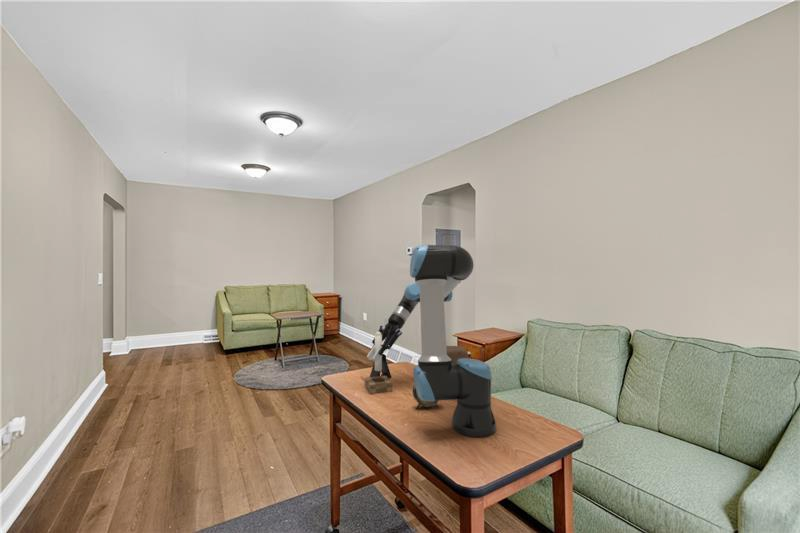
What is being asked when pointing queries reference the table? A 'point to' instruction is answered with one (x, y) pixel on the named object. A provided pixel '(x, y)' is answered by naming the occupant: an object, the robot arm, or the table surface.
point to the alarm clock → (421, 402)
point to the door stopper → (384, 369)
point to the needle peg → (377, 344)
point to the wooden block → (456, 353)
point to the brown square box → (378, 384)
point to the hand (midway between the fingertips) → (371, 359)
